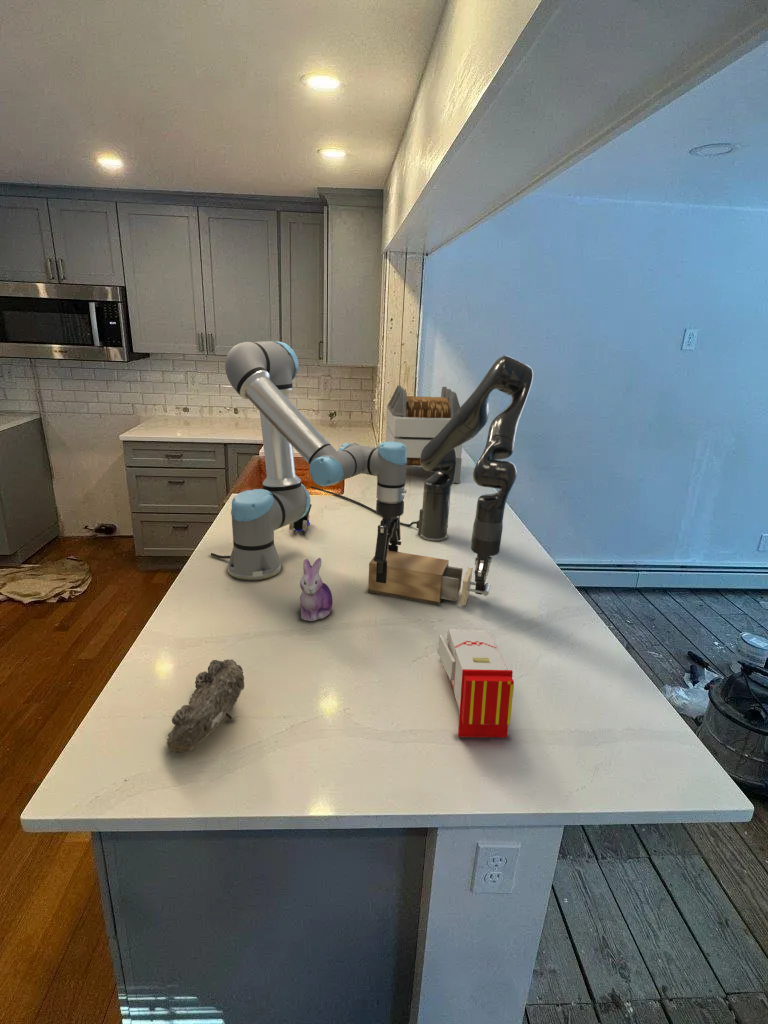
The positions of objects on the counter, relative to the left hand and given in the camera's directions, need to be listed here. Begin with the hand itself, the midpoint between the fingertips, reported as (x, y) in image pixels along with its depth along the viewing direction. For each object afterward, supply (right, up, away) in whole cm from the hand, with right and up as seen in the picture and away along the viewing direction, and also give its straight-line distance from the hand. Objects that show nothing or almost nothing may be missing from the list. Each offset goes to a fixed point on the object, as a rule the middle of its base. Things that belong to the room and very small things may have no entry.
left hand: (386, 573), depth 160 cm
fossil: (-34, -22, -52) cm, 66 cm away
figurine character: (-30, +11, +39) cm, 51 cm away
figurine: (-18, -9, -14) cm, 25 cm away
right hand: (+25, -4, -6) cm, 26 cm away
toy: (+17, -20, -42) cm, 49 cm away
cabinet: (+6, -5, 0) cm, 7 cm away
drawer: (+16, -5, -3) cm, 17 cm away
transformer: (+16, +36, +115) cm, 121 cm away
